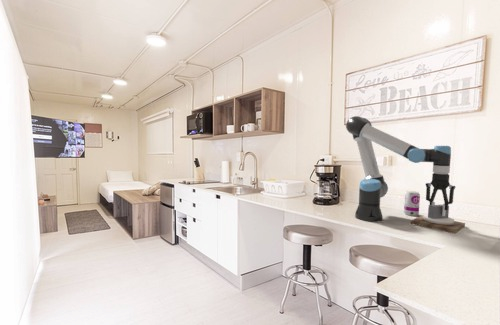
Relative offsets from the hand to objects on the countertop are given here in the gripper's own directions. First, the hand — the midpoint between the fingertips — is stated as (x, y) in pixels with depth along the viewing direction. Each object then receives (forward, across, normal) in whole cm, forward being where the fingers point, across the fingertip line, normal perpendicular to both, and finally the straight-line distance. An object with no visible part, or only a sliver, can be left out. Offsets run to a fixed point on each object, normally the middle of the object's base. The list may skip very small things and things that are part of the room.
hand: (438, 214), depth 141 cm
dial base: (+6, 0, 0) cm, 6 cm away
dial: (+4, 0, 0) cm, 4 cm away
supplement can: (+6, +18, -14) cm, 24 cm away
